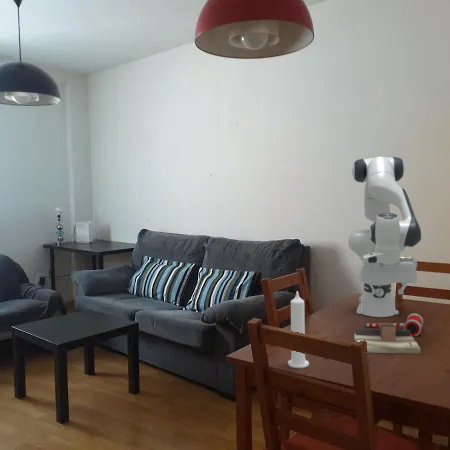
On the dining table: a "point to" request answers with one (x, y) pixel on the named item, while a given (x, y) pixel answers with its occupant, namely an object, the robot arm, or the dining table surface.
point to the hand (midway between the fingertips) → (387, 294)
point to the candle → (297, 330)
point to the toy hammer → (406, 324)
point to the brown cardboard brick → (387, 332)
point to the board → (376, 344)
